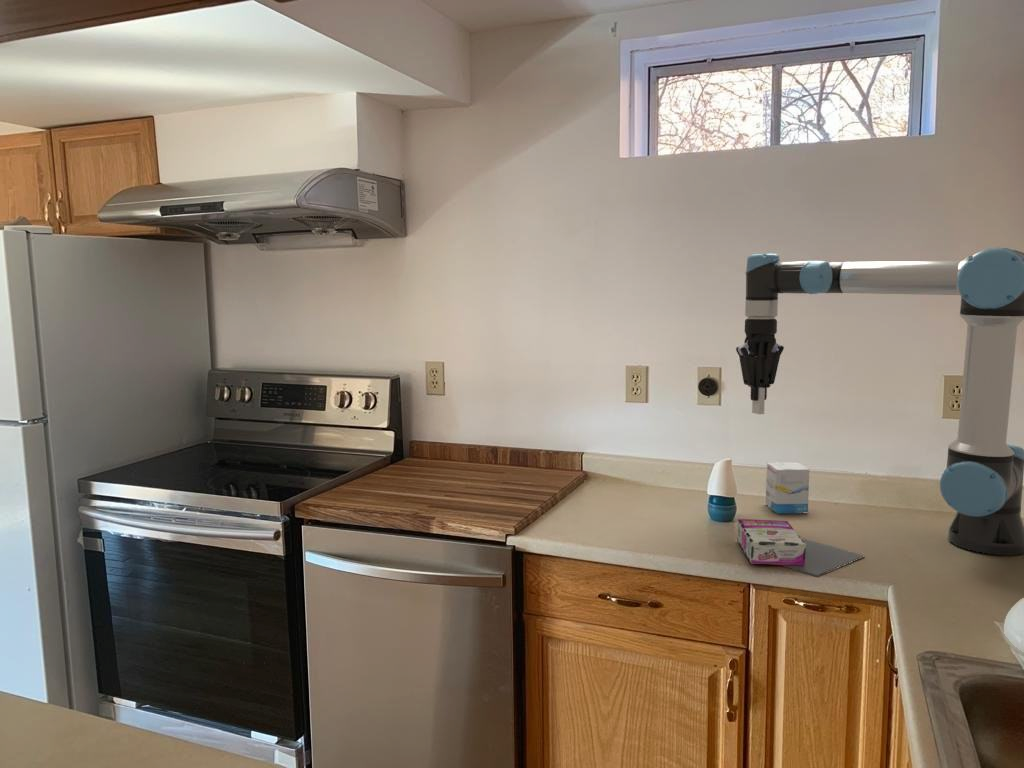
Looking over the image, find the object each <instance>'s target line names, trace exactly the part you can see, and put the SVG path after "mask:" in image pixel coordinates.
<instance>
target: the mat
mask: <svg viewBox="0 0 1024 768" xmlns="http://www.w3.org/2000/svg"><path fill="white" fill-rule="evenodd" d="M800 538H801V539H802V540H803V541H804V543H805V544H806V554H805V566H799V565H780V566H782V567H785V568H787V567H788V569H791V568H792V569H791V570H794V569H795V570H794V571H797V570H798V572H800V571H801V572H800V573H803V572H804V573H803V574H806V573H807V574H806V575H810V576H813V577H815V578H818V577H820V576H823V575H825V574H824V573H826V572H828V571H830V572H832V571H831V570H833V569H835V568H837V567H839V566H842V565H844V564H847V563H849V562H851V561H854V560H856V559H859V558H861V557H863V556H865V555H863V554H861V553H860V554H859V553H856V552H852V551H849V550H845V549H842V548H838V547H835V546H831V545H827V544H824V543H820V542H817V541H813V540H809V539H806V538H802V537H800ZM848 551H849V552H848ZM741 554H743V555H746V554H745V552H744V550H743V549H742V550H741ZM835 570H836V569H835ZM833 571H834V570H833ZM828 573H829V572H828ZM822 574H823V575H822ZM826 574H827V573H826Z"/></svg>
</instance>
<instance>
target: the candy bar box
mask: <svg viewBox="0 0 1024 768" xmlns="http://www.w3.org/2000/svg"><path fill="white" fill-rule="evenodd" d="M736 532H737V533H736V538H737V541H738V542H739V545H740V546H741V548H742V551H743V550H744V552H745V554H744V555H746V557H747V559H748V561H749V562H750V564H751V565H779V566H781V565H799V566H805V554H806V544H805V543H804V541H803V540H802V539H801V538H802V537H801V536H800V535H799V534H798V533H797V531H796V530H795V529H794V528H793V526H792V525H791V524H790V523H789V522H788V520H774V519H773V520H772V519H752V518H751V519H749V518H747V519H746V518H737V531H736Z"/></svg>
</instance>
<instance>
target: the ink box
mask: <svg viewBox="0 0 1024 768" xmlns="http://www.w3.org/2000/svg"><path fill="white" fill-rule="evenodd" d="M765 484H766V485H765V487H766V488H765V506H767V505H768V506H767V507H768V508H769V509H770V510H771V509H772V510H773V511H774V512H775V513H774V512H773V511H772V510H771V511H772V512H773V513H774V514H804V513H803V512H808V513H809V494H810V493H809V491H810V490H809V488H810V469H809V468H807V467H806V466H804V465H803V464H801V463H799V462H794V461H793V462H788V461H787V462H786V461H785V462H780V461H775V462H766V483H765ZM800 512H801V513H800Z"/></svg>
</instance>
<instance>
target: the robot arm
mask: <svg viewBox="0 0 1024 768" xmlns="http://www.w3.org/2000/svg"><path fill="white" fill-rule="evenodd" d="M746 260H747V261H746V269H745V270H746V271H745V276H746V277H745V303H744V304H745V306H744V307H745V308H744V309H745V311H744V316H745V317H746V319H745V320H744V334H745V339H744V342H743V344H742V345H741V346H736V348H735V351H736V353H737V354H738V357H739V363H740V369H741V375H742V380H743V384H744V385H746V386H748V387H750V401H752V404H751V413H752V414H755V415H764V414H765V402H766V400H767V395H768V391H767V390H768V389H769V388H770V387H771V385H774V384H775V381H776V377H777V372H778V367H779V363H780V358H781V355H782V353H783V351H784V348H785V347H784V346H783V345H780V344H778V342H777V339H776V334H777V333H778V332H777V331H778V320H777V318H776V317H778V314H779V313H778V309H779V308H778V307H779V303H778V302H779V301H778V300H779V294H808V295H817V294H870V295H871V294H873V295H874V294H876V295H879V294H880V295H927V296H929V295H930V296H933V295H934V296H937V295H938V296H960V297H961V298H960V308H959V309H960V310H959V316H960V317H961V319H963V321H964V322H966V324H967V326H966V327H967V328H966V337H965V350H964V361H963V373H962V374H963V375H962V385H961V395H960V396H961V397H960V408H959V418H958V430H957V431H958V432H957V438H956V440H953V442H951V443H950V444H948V448H947V449H948V450H947V459H946V468H945V469H944V470H943V473H942V474H941V477H940V481H939V491H940V494H941V496H942V499H943V500H944V502H945V503H946V504H947V505H948V506H950V508H951V509H953V510H954V511H956V513H955V515H954V517H953V520H952V522H951V524H950V526H949V528H948V533H947V534H948V535H947V537H948V538H947V540H948V539H949V540H948V542H949V541H950V542H949V543H951V542H952V543H953V544H952V543H951V544H952V545H954V544H955V545H954V546H956V545H957V546H956V547H958V546H959V547H958V548H960V547H961V548H960V549H963V548H964V550H966V549H969V550H968V551H970V550H973V551H972V552H974V551H977V552H976V553H979V552H982V553H981V554H984V553H988V554H987V555H991V554H994V555H993V556H1020V555H1023V554H1024V523H1023V518H1022V513H1021V512H1022V498H1023V487H1024V485H1023V484H1024V449H1023V448H1022V447H1021V446H1017V445H1014V444H1008V443H1007V440H1008V439H1007V437H1008V426H1009V419H1010V418H1009V416H1010V407H1011V398H1012V397H1011V396H1012V385H1013V376H1014V374H1013V373H1014V365H1015V356H1016V355H1015V353H1016V345H1017V333H1018V327H1019V325H1020V324H1021V323H1022V322H1023V321H1024V252H1022V251H1019V250H1015V249H1011V248H1008V247H1007V248H1006V247H993V248H992V247H991V248H987V249H983V250H980V251H978V252H977V253H975V254H973V255H968V256H966V257H965V258H964V259H963V260H908V261H907V260H898V261H895V260H894V261H893V260H892V261H889V260H888V261H886V260H885V261H825V260H799V261H781V260H780V255H778V253H757V254H756V253H755V254H750V255H749V256H748V257H747V259H746Z"/></svg>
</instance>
